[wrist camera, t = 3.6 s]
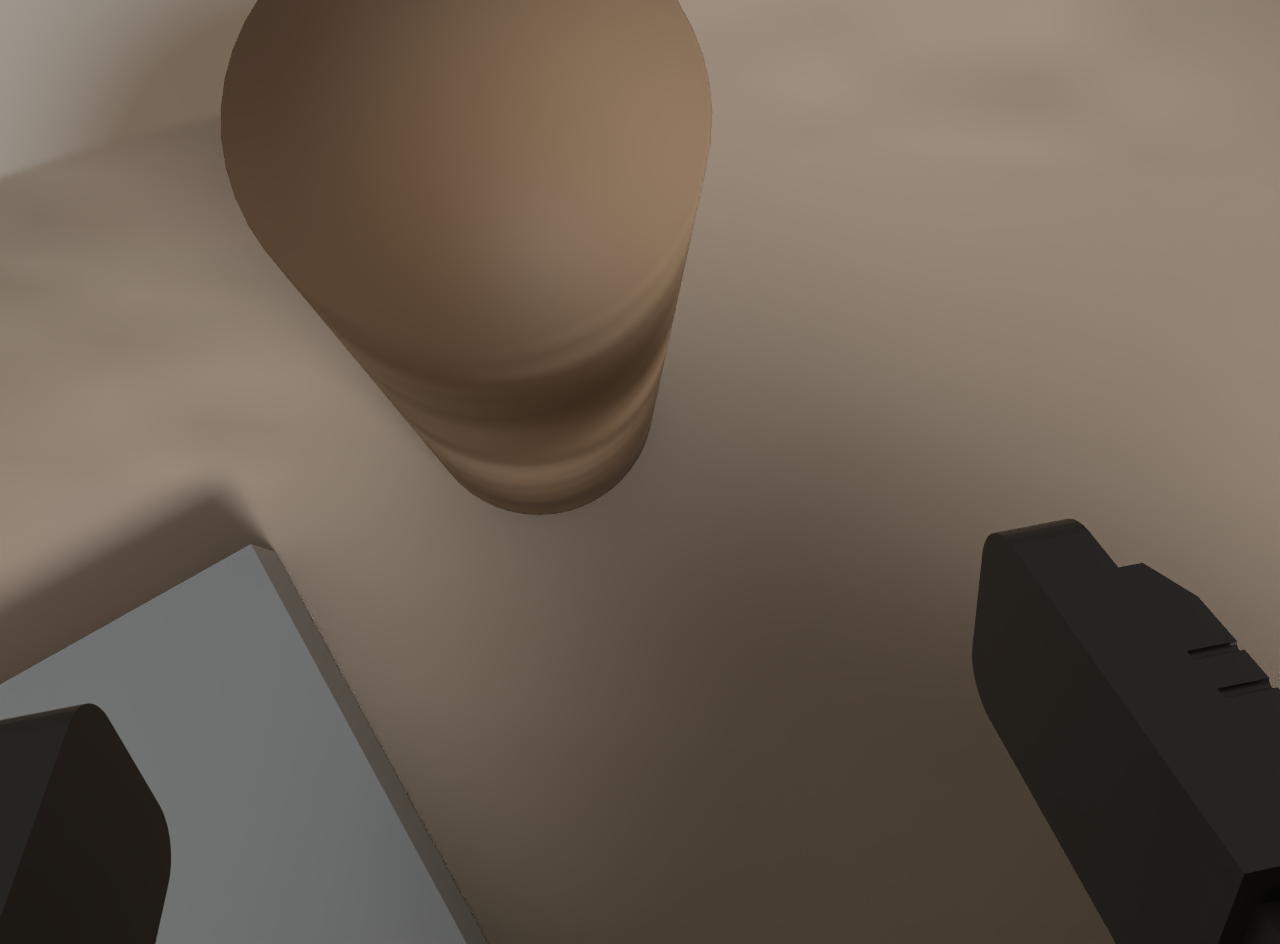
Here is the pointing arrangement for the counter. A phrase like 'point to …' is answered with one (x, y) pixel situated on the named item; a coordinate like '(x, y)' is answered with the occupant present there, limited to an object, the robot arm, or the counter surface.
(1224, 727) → the robot arm
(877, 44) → the counter surface
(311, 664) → the slate board
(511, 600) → the counter surface
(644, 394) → the walnut roller
